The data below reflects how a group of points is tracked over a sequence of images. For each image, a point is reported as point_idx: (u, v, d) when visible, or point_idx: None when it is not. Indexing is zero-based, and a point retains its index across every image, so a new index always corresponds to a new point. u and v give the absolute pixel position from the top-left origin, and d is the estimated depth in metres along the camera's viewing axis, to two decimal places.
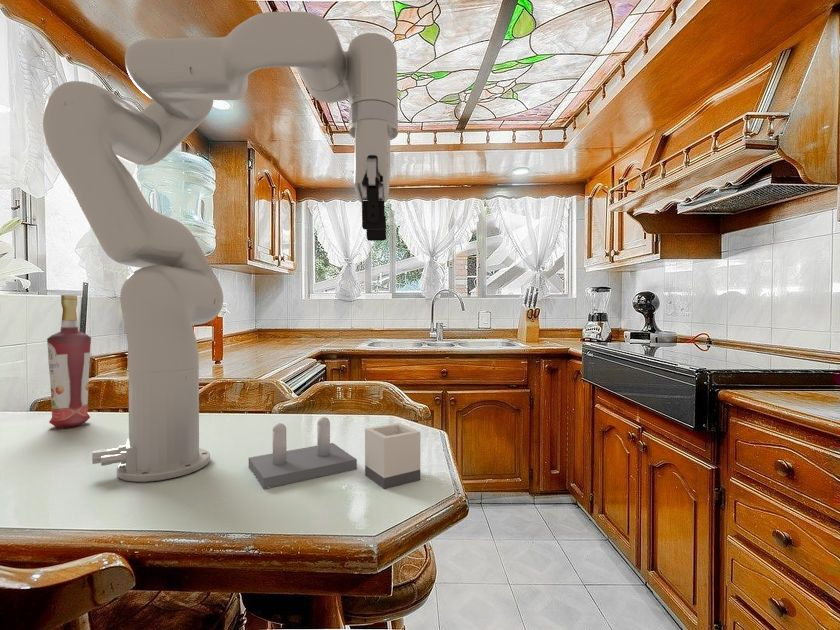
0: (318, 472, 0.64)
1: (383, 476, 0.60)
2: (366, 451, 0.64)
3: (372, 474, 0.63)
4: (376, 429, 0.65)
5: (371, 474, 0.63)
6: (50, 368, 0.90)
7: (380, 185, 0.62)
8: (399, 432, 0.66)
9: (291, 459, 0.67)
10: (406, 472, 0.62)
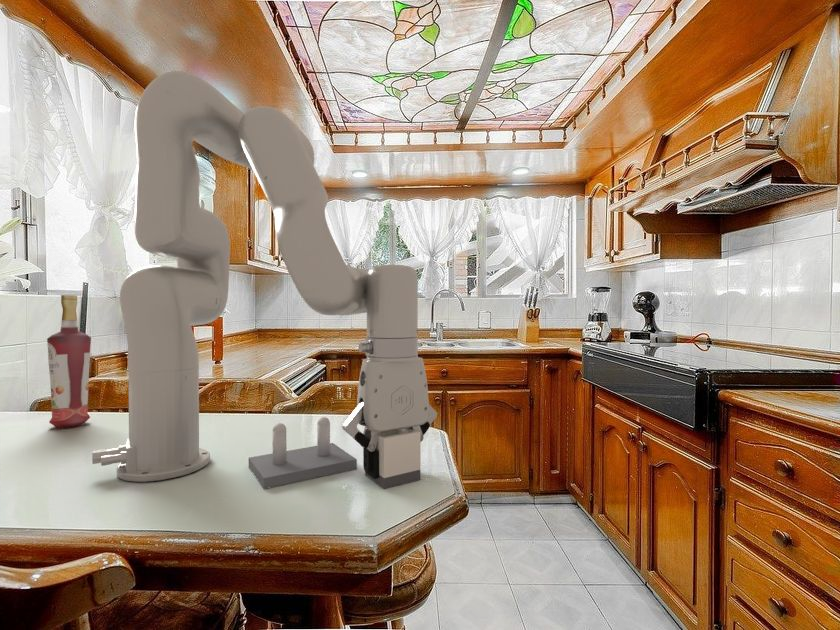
0: (318, 472, 0.64)
1: (383, 476, 0.60)
2: None
3: None
4: None
5: None
6: (50, 368, 0.90)
7: None
8: (399, 432, 0.66)
9: (291, 459, 0.67)
10: (406, 472, 0.62)
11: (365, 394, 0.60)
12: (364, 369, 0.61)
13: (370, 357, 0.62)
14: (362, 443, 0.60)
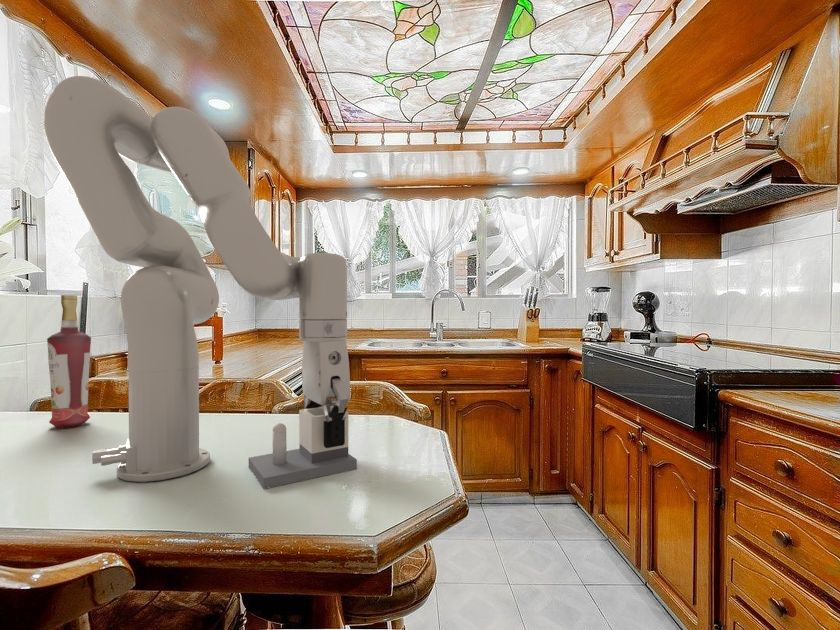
0: (318, 472, 0.64)
1: (347, 446, 0.69)
2: (314, 438, 0.66)
3: (326, 454, 0.67)
4: None
5: (325, 455, 0.67)
6: (50, 368, 0.90)
7: None
8: None
9: (291, 459, 0.67)
10: None
11: (342, 370, 0.66)
12: (335, 349, 0.66)
13: (333, 338, 0.66)
14: None
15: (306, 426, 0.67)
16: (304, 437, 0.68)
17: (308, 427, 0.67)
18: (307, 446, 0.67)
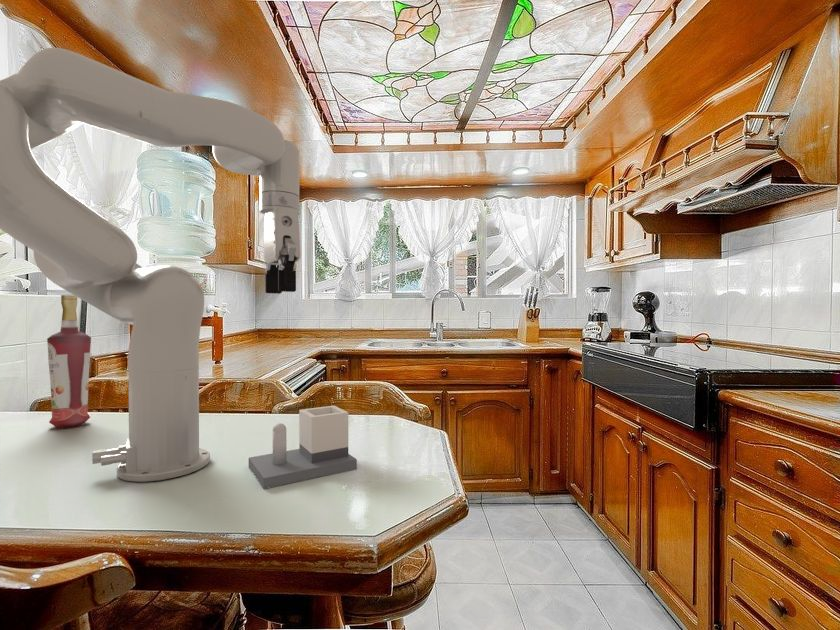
0: (318, 472, 0.64)
1: (347, 446, 0.69)
2: (314, 438, 0.66)
3: (326, 454, 0.67)
4: None
5: (325, 455, 0.67)
6: (50, 368, 0.90)
7: (268, 263, 0.89)
8: None
9: (291, 459, 0.67)
10: None
11: (293, 232, 0.82)
12: (287, 214, 0.81)
13: (286, 206, 0.82)
14: (294, 263, 0.80)
15: (306, 426, 0.67)
16: (304, 437, 0.68)
17: (308, 427, 0.67)
18: (307, 446, 0.67)
